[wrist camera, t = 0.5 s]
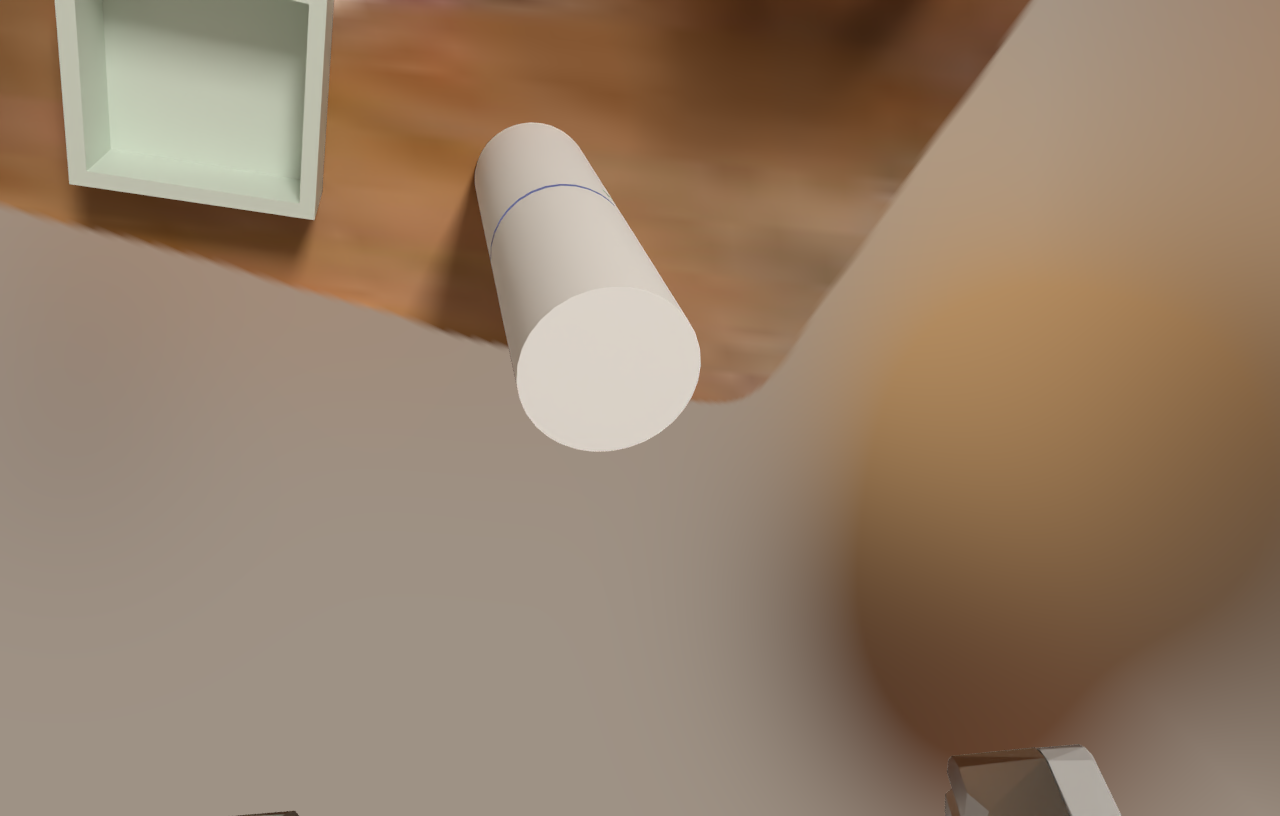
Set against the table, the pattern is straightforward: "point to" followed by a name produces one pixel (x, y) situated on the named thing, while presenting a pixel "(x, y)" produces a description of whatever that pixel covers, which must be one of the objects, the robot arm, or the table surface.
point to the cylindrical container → (579, 297)
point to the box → (198, 99)
